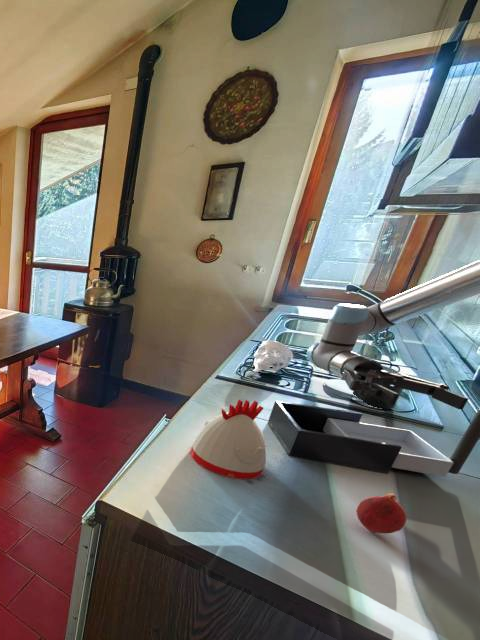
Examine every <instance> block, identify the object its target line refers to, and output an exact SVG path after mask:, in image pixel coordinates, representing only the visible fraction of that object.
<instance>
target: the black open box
mask: <svg viewBox="0 0 480 640" xmlns="http://www.w3.org/2000/svg"><path fill="white" fill-rule="evenodd" d="M362 417H363V413H361V412H358V411H350V410H343V409H336V408H329V407H323V406H322V407H321V406H315V405H309V404H301V403H295V402H288V401H287V402H286V401H280V400H275V401H274V404H273V407H272V409H271V412H270V414H269V418H268V421H267V426H268V427H269V428H270V430H271V431H272V434H273V435H274V436H275V437H276V439H277V440H278V442H279V443H280V445H281V446H282V448H283V450H284V451H285V452H286V454H287V455H288V456H289V457H292V458H297V459H304V460H307V461H308V460H309V461H314V462H320V463H326V464H332V465H337V466H341V467H348V468H353V469H359V470H365V471H370V472H375V473H380V474H384V475H385V474H386V475H387V474H389V473H390V471H391V469H392V468H393V467H392V465H393V463H394V461H395V459H396V457H397V455H398V454H399V452H400V450H401V448H402V447H401V446H400V445H394V444H388V443H382V442H376V441H369V440H363V439H357V438H351V437H345V436H338V435H332V434H326V433H325V432H324V431H323V429H324V426H325V424H326V421H327V419H328V418H332V419H338V420H345V421H352V422H358V423H360V421H361V420H362Z"/></svg>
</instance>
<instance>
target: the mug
mask: <svg viewBox="0 0 480 640" xmlns="http://www.w3.org/2000/svg"><path fill="white" fill-rule="evenodd" d="M395 384H396V383H395V382H394V381H393V383H392V384H391V385H395ZM371 385H372V384H371ZM383 387H385V386H383ZM385 388H387V389H389V390H391V391H394V392H396V393H398V394H399V396H398V398H397V400H396V402H395V404H394V405H390V404H388V403H386V402H384V401H382V400H380V399H378V398H376V397H374V396H372V395H370V394H368V392H366V395H360V394H359V392H360V390H359V389H357V390H356V391H352V393H353V394H354V395H356V396H357V397H358V398H359V399H361V400H363V402H365V403H367V404H368V405H371V406H373V407H377V408H382V409H391V408H393V409H394V408H395V406H396V405H397V402H398V400H399V398H400V396H401V394H402V392H403V390H404V389H402V388H397V389H393V388H389V387H385ZM361 406H362V407H364V406H363V405H361ZM391 410H392V409H391Z"/></svg>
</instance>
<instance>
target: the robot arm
mask: <svg viewBox="0 0 480 640" xmlns="http://www.w3.org/2000/svg"><path fill="white" fill-rule="evenodd" d="M478 295H480V259H479V260H477V261H474V262H472V263H470V264H468V265H464V266H463V267H460V268H459V269H456V270H453V271H451V272H449V273H446V274H444V275H441V276H439V277H437V278H435V279H432V280H430V281H427V282H425V283H423V284H420V285H418V286H415V287H413V288H411V289H408V290H406V291H404V292H402V293H399V294H396V295H395V296H391V297H390V298H387V299H384V300H381V302H377V303H375V304H372V305H371V306H368V307H367V306H365V305H362V304H361V305H360V304H352V303H338V304H335V305H334V306H333V308H332V310H331V312H330V314H329V316H328V319H327V323H326V324H325V325H326V326H325V328H324V331H323V334H322V336H321V339H320V340H319V341H317V342H315V343H314V342H313V344H311V346H309V348H308V349H307V351H306V358H307V360H308V362H309V363H310V364H312V365H313V366H315V367H317V368H319V369H320V370H324V371H326V372H327V373H330V374H332V375H334V376H336V377H338V378H340V380H341V381H344V382H345V384H346V385H347V387H348V389H349V390H350V391H352V392H353V391H356V390H357V389H359V390H360V392H359V394H360V395H366V392H368V394H370V395H372V396H374V397H376V398H378V399H380V400H382V401H384V402H386V403H388V404H390V405H394V404H395V402H396V400H397V398H398V396H399V394H398V393H396V392H394V391H391V390H389V389H387V388H385V387H389V388H393V389H397V388H402V389H403V390H406V391H410V392H414V393H418V394H422V395H425V396H430V397H431V399H434V400H436V401H439V402H441V403H443V404H445V405H447V406H450V407H452V408H455V409H457V410H464V408H465V406H466V404H467V403H468V401H469V397H465V396H464V395H461V394H458V393H455V392H453V391H451V390H449V389H450V386H448V385H446V384H445V383H438V382H433V381H429V380H426V379H423V378H419V377H415V376H412V375H411V376H410V375H408V374H405V373H403V372H397V373H394V372H393V373H392V372H391V371H388V370H384V367H383V365H382V364H381V363H380V362H379V361H377V360H374V359H372V358H369V357H367V356H365V355H363V354H360V353H358V352H355V351H353V350H354V348H355V346H356V343H357V341H358V339H359V337H360V336H364V335H374V334H377V333H381V332H383V331H385V330H387V329H388V328H391V327H394V326H395V325H398V324H401V323H404V322H406V321H409V320H412V319H415V318H417V317H420V316H423V315H426V314H429V313H432V312H433V311H436V310H439V309H442V308H444V307H447V306H450V305H453V304H456V303H457V302H461V301H464V300H466V299H470V298H472V297H474V296H478ZM393 381H394V382H395V383H396V384H395V385H391V384H392V383H393ZM371 384H372V385H371ZM383 386H385V387H383ZM399 397H400V396H399ZM398 399H399V398H398ZM397 401H398V400H397ZM396 403H397V402H396ZM395 405H396V404H395Z"/></svg>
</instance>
